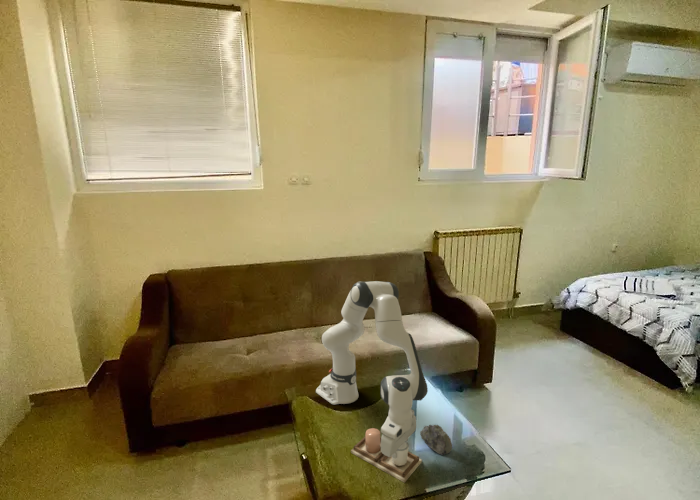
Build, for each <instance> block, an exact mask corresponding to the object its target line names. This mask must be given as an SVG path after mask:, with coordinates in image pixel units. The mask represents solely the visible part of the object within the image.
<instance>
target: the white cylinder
mask: <svg viewBox="0 0 700 500" xmlns="http://www.w3.org/2000/svg"><path fill="white" fill-rule="evenodd" d="M409 445H410V444H409V441H408V442H407V441H405V442H404V443H403V444H402V445H401V446H400V447H399V448H398V449H397V451H396V453H397V458H396V459H395V458H393V457H392V461H393V463H394V464H396V465H398V466H402V465H405V464H406V462H407V456H408V452H409Z"/></svg>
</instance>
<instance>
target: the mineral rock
mask: <svg viewBox="0 0 700 500" xmlns="http://www.w3.org/2000/svg"><path fill="white" fill-rule="evenodd" d="M420 437H421V438H420V439H422V441H424V443H425V444H426V445H427V446H428V447H429V448H430V449H431V450H432V451H435V452H436V453H437V454H439V455H441V456H445V455H447V454H449V453H451V451H452V449H453V443H452V441H451V438H450V435H448V434H447V432H445V431H444V429H443V428H442V427H441V426H440V424H439V425H438V424H432V425H431V424H429V425H424V426H423V429H421V430H420Z"/></svg>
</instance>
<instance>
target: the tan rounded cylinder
mask: <svg viewBox="0 0 700 500" xmlns="http://www.w3.org/2000/svg"><path fill="white" fill-rule="evenodd" d="M365 436H366V451H367V452H369V453H372V454H375V453H378V452H379V451H380V438H381V430H379V429H378V428H373V427H372V428H368V429H367V430H365Z"/></svg>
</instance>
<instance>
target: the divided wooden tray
mask: <svg viewBox="0 0 700 500" xmlns="http://www.w3.org/2000/svg"><path fill="white" fill-rule="evenodd" d="M350 453H351V454H353V455H355V456H356V457H357V458H359V459H361V460H363V461H365V462H367V463H369V464H370V465H372V466H374V467H376V468H378V469H379V470H381V471H383V472H385V473H386V474H388V475H389V476H392V477H393V478H395V479H396V480H399V481H401V482H403V483H406V482H407V481H408V479H409V478H410V477H411V475H412V474H413V473H414V472H415V471H416V470H417V468H418V467H419V466H420V465H421V464H422V462H423V459H422V458H420V456H418V455H416V454H414V453H412V452H410V451H408V456H407V462H406V464H405V465H402V466H398V465H396V464H394V463H393V461H392V456H391V457H388V456H386V455H384V454H383V453H382V452H381V437H380V451H379V452H378V453H375V454H372V453H369V452H367V451H366V435H364V437H362V438H361V439H360V441H358V442H357V443H355V445H354V446H353V448H352V449H350Z"/></svg>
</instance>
